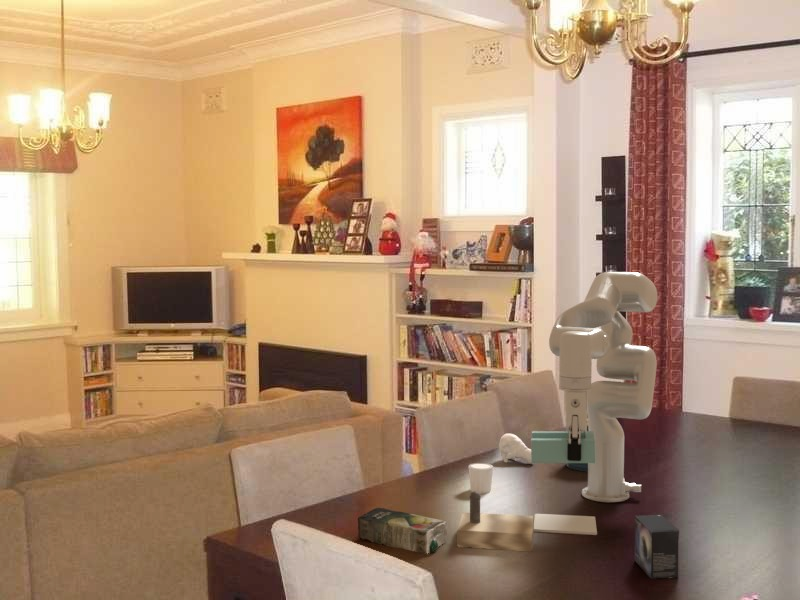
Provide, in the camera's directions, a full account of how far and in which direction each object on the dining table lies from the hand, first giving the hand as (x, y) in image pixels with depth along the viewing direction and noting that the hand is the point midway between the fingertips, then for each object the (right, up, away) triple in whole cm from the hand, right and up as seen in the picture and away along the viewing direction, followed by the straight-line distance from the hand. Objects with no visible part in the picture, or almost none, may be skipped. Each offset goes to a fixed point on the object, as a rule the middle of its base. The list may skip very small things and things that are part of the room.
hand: (574, 458), depth 218 cm
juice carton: (-41, -19, -5) cm, 46 cm away
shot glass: (-19, -15, +35) cm, 43 cm away
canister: (+15, -13, +60) cm, 63 cm away
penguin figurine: (-5, -13, +65) cm, 67 cm away
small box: (+13, -20, -23) cm, 33 cm away
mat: (-1, -17, +6) cm, 18 cm away
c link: (-1, -1, +4) cm, 4 cm away
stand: (-19, -18, -4) cm, 27 cm away
